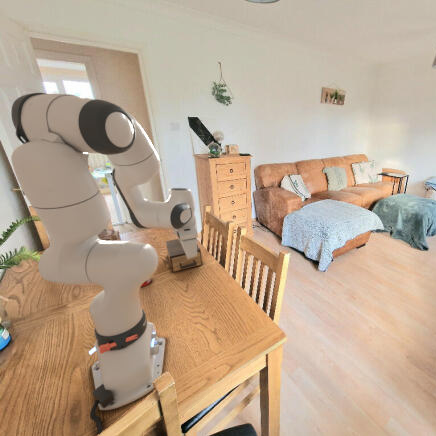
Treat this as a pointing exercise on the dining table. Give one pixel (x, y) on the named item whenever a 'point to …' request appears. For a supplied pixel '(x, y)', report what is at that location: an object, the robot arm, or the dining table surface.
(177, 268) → the drawer
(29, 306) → the dining table surface
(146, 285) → the brown post red base
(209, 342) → the dining table surface
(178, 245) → the cabinet
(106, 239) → the decorative jar
